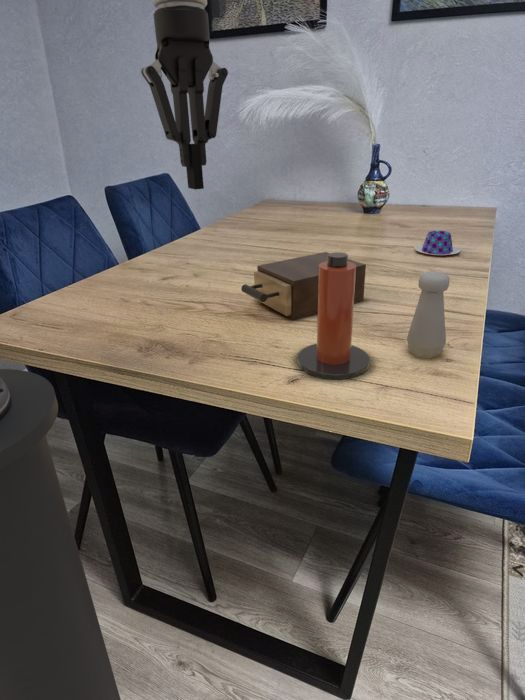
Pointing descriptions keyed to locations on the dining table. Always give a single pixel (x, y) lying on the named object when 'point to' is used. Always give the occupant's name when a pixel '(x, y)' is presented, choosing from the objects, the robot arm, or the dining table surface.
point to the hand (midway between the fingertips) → (195, 188)
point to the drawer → (271, 292)
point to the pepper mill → (335, 309)
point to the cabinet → (308, 281)
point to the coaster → (348, 370)
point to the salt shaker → (429, 316)
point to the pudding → (438, 244)
